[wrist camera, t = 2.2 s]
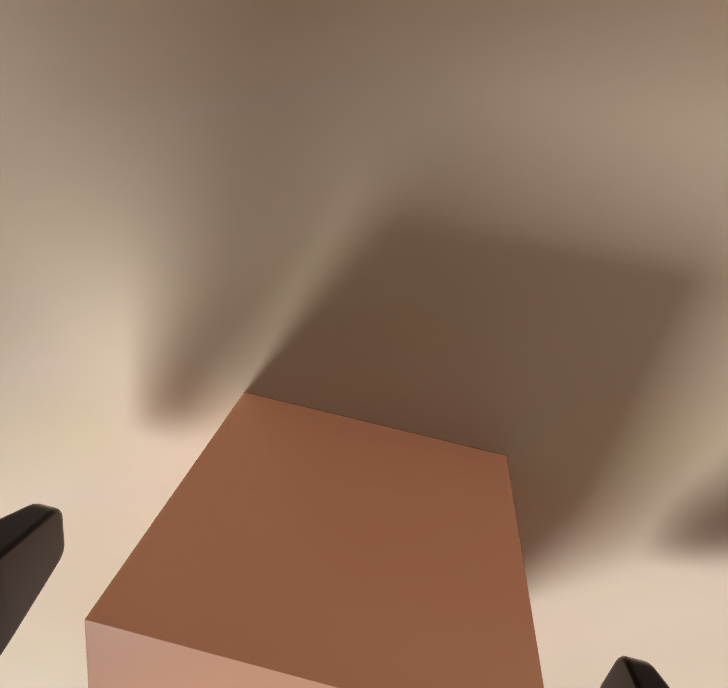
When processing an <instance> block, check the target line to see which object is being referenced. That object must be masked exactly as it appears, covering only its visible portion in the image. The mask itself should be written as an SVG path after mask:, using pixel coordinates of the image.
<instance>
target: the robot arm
mask: <svg viewBox="0 0 728 688" xmlns="http://www.w3.org/2000/svg"><path fill="white" fill-rule="evenodd" d="M63 550H64V533H63V519H62V513H61V511H60V510H59V509H57V508H54V507H50V506H46V505H42V504H32V505H29V506H27V507H25V508H22V509H20V510H18V511H16V512H14V513H12V514H9V515H7V516H5V517H3V518H1V519H0V655H1V654H2V652H3V651H4V649H5V648H6V646H7V645H8V643H9V642H10V640H11V639H12V637H13V635H14V634H15V632H16V630H17V629H18V627H19V626H20V624H21V622H22V621H23V619H24V617H25V616H26V614H27V613H28V611H29V609H30V608H31V606H32V604H33V603H34V601H35V600H36V598H37V596H38V595H39V593H40V591H41V590H42V588H43V587H44V585H45V583H46V582H47V580H48V578H49V577H50V575H51V574H52V572H53V570H54V569H55V567H56V566H57V564H58V562H59V560H60V558H61V556H62V554H63ZM600 688H670V687H669V686H668V685H667V684H666V682H665V681H664V680H663V678H662V677H661V676H660V675H659V673H658V672H657V671H656V670H655V668H654V667H653V666H652V665H650V664H649V663H648V662H645V661H642V660H639V659H635V658H631V657H627V656H622V657H620V658H618V659H617V660H616V662H615V664H614V665H613V667H612V668H611V670H610V672H609V673H608V675H607V677H606V678H605V680H604V681H603V683H602V685H601V687H600Z"/></svg>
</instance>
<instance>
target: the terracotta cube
mask: <svg viewBox="0 0 728 688" xmlns="http://www.w3.org/2000/svg"><path fill="white" fill-rule="evenodd" d="M85 634H86V652H87V670H88V688H544V685H543V679H542V673H541V667H540V661H539V655H538V648H537V642H536V636H535V630H534V624H533V618H532V611H531V605H530V599H529V593H528V587H527V581H526V574H525V568H524V562H523V556H522V550H521V544H520V538H519V531H518V525H517V519H516V513H515V507H514V501H513V494H512V488H511V482H510V476H509V470H508V464H507V457H506V456H505V455H501V454H497V453H492V452H488V451H484V450H480V449H476V448H472V447H468V446H464V445H460V444H455V443H451V442H447V441H443V440H439V439H435V438H431V437H427V436H422V435H418V434H414V433H410V432H406V431H402V430H398V429H394V428H390V427H385V426H381V425H377V424H373V423H369V422H365V421H361V420H357V419H352V418H348V417H344V416H340V415H336V414H332V413H328V412H324V411H320V410H315V409H311V408H307V407H303V406H299V405H295V404H291V403H287V402H283V401H278V400H274V399H270V398H266V397H262V396H258V395H254V394H250V393H245V392H244V393H243V395H242V396H241V398H240V399H239V401H238V402H237V403H236V405H235V406H234V408H233V409H232V411H231V412H230V413H229V415H228V416H227V418H226V419H225V420H224V422H223V423H222V425H221V426H220V428H219V429H218V430H217V432H216V433H215V435H214V436H213V438H212V439H211V440H210V442H209V443H208V445H207V446H206V448H205V449H204V450H203V452H202V453H201V455H200V456H199V458H198V459H197V460H196V462H195V463H194V465H193V466H192V467H191V469H190V470H189V472H188V473H187V475H186V476H185V477H184V479H183V480H182V482H181V483H180V485H179V486H178V487H177V489H176V490H175V492H174V493H173V495H172V496H171V497H170V499H169V500H168V502H167V503H166V505H165V506H164V507H163V509H162V510H161V512H160V513H159V515H158V516H157V517H156V519H155V520H154V522H153V523H152V524H151V526H150V527H149V529H148V530H147V532H146V533H145V534H144V536H143V537H142V539H141V540H140V542H139V543H138V544H137V546H136V547H135V549H134V550H133V552H132V553H131V554H130V556H129V557H128V559H127V560H126V562H125V563H124V564H123V566H122V567H121V569H120V570H119V571H118V573H117V574H116V576H115V577H114V579H113V580H112V581H111V583H110V584H109V586H108V587H107V589H106V590H105V591H104V593H103V594H102V596H101V597H100V599H99V600H98V601H97V603H96V604H95V606H94V607H93V609H92V610H91V611H90V613H89V614H88V616H87V617H86V619H85Z"/></svg>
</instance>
